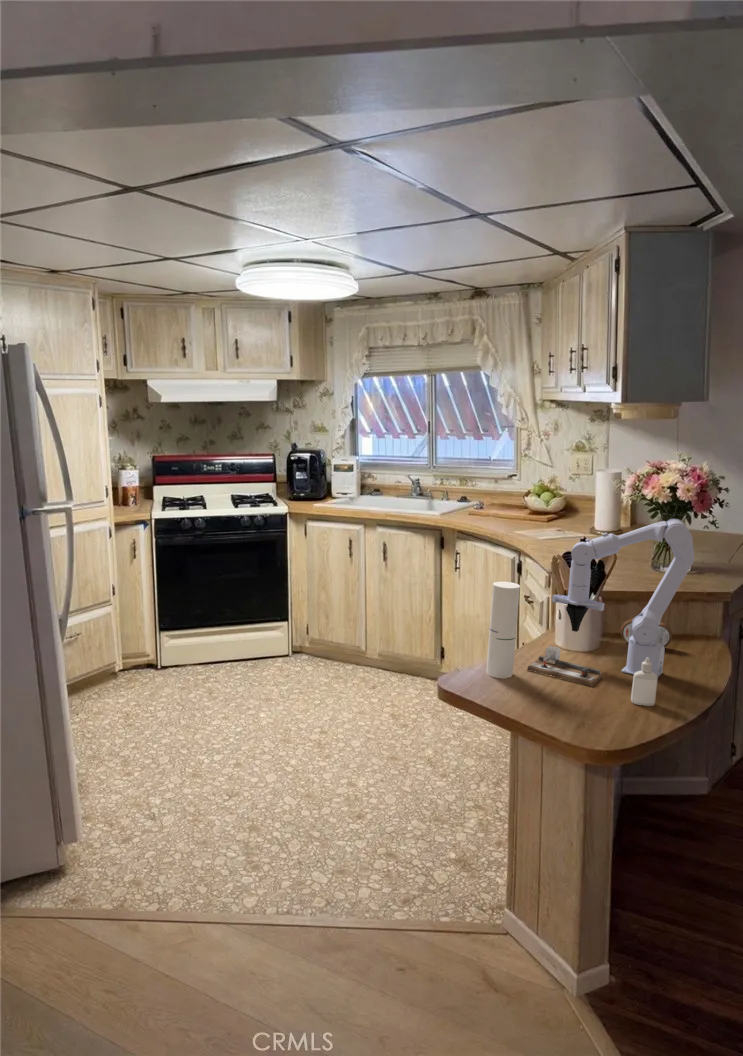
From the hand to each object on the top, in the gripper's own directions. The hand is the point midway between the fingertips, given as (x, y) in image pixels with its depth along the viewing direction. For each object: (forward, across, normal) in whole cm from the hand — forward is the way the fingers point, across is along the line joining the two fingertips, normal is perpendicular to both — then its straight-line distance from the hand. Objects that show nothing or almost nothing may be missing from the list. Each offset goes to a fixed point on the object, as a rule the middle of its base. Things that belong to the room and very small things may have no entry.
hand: (575, 630), depth 216 cm
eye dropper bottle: (+10, +24, -18) cm, 32 cm away
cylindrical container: (+10, -13, -22) cm, 28 cm away
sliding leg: (+8, -4, -10) cm, 13 cm away
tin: (+10, +13, +30) cm, 34 cm away
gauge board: (+10, +1, -11) cm, 14 cm away
